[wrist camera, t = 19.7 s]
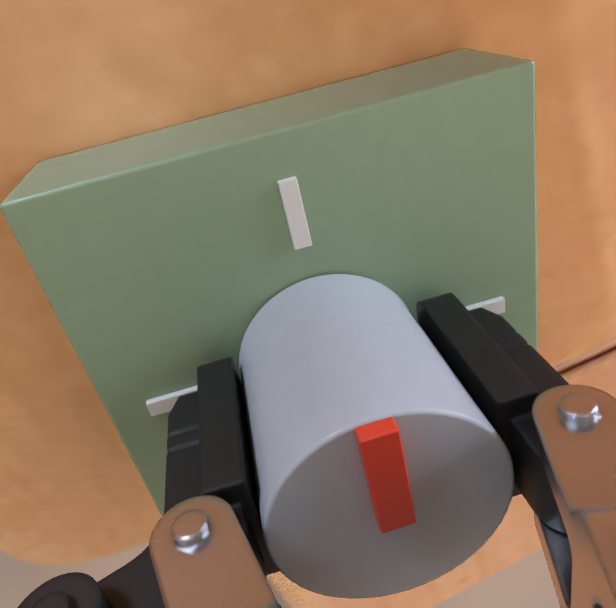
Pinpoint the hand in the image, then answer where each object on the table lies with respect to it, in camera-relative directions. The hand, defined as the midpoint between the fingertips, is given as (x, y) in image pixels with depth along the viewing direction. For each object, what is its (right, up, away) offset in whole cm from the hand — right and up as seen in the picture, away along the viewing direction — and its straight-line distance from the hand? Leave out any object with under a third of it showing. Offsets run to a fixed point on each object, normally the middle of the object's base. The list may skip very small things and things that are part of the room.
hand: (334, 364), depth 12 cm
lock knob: (0, 0, 0) cm, 0 cm away
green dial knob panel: (-1, +2, +3) cm, 3 cm away
